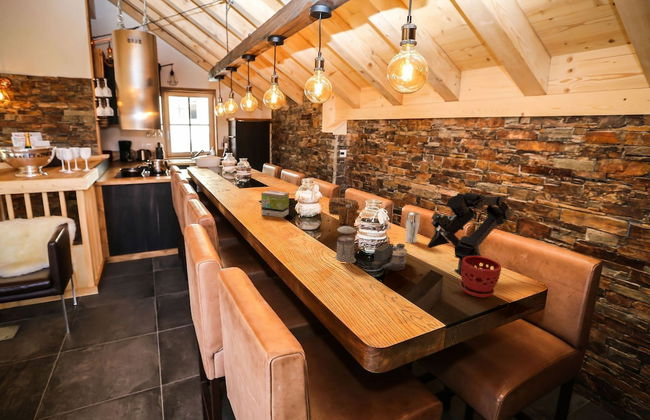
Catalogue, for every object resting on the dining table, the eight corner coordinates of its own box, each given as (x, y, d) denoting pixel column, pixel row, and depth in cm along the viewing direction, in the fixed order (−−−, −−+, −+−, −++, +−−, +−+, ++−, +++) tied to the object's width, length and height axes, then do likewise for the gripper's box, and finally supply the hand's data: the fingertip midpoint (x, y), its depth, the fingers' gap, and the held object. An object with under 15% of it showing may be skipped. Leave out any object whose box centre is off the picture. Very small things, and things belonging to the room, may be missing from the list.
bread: (327, 213, 239) (328, 198, 237) (331, 209, 249) (332, 195, 247) (355, 215, 235) (356, 201, 232) (358, 212, 245) (358, 197, 242)
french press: (358, 257, 161) (361, 203, 155) (353, 266, 150) (356, 209, 144) (336, 254, 163) (339, 201, 158) (330, 263, 153) (332, 206, 147)
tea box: (260, 215, 226) (260, 192, 223) (267, 211, 236) (267, 189, 232) (282, 217, 222) (282, 194, 219) (288, 214, 232) (289, 191, 228)
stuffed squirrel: (359, 227, 209) (361, 205, 206) (336, 225, 211) (337, 203, 208) (360, 222, 218) (362, 201, 215) (338, 220, 220) (338, 200, 217)
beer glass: (417, 244, 182) (420, 215, 179) (404, 242, 183) (406, 214, 180) (417, 240, 189) (420, 212, 185) (403, 238, 190) (406, 211, 187)
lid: (390, 244, 160) (391, 233, 159) (412, 250, 154) (413, 238, 153) (365, 259, 142) (366, 246, 140) (389, 265, 136) (390, 252, 135)
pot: (392, 258, 161) (393, 245, 160) (412, 264, 155) (413, 251, 154) (363, 272, 145) (364, 258, 143) (384, 279, 138) (385, 265, 137)
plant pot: (451, 291, 131) (455, 260, 128) (467, 281, 140) (471, 252, 137) (487, 304, 122) (493, 272, 119) (502, 293, 131) (507, 262, 128)
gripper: (438, 200, 145) (409, 226, 148) (454, 211, 127) (421, 240, 129) (455, 219, 147) (426, 244, 150) (474, 232, 129) (441, 261, 131)
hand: (428, 246), depth 140 cm, fingers closed
